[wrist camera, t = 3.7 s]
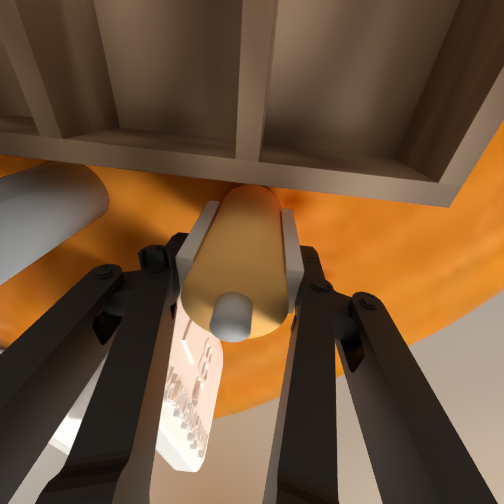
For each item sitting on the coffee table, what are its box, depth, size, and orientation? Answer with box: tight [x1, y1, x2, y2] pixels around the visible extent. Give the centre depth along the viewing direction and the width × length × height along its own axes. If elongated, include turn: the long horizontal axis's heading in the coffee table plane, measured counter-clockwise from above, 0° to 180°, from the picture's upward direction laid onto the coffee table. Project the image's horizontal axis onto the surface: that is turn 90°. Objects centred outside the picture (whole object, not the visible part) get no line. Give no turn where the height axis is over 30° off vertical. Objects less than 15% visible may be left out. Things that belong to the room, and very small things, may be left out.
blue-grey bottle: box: [0, 161, 109, 285], centre depth 14 cm, size 5×5×10 cm
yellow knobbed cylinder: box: [181, 184, 289, 342], centre depth 13 cm, size 5×5×10 cm
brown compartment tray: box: [0, 0, 504, 208], centre depth 10 cm, size 27×12×6 cm, turn 85°
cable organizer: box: [48, 294, 223, 472], centre depth 20 cm, size 15×11×12 cm
